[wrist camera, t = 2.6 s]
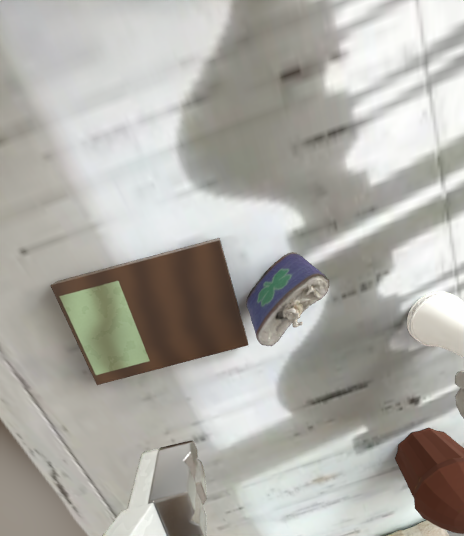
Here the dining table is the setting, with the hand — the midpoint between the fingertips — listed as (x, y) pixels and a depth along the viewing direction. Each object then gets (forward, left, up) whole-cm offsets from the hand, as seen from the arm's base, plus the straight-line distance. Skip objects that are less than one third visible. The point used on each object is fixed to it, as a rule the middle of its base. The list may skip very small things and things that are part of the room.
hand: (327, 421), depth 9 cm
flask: (-3, +6, -27) cm, 28 cm away
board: (+12, +6, -27) cm, 30 cm away
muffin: (-20, +40, -27) cm, 52 cm away
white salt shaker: (-23, +17, -27) cm, 39 cm away
